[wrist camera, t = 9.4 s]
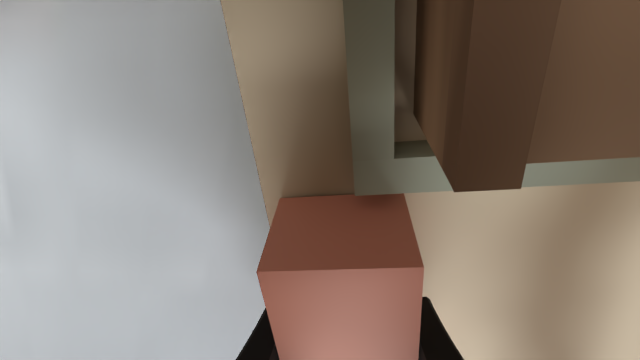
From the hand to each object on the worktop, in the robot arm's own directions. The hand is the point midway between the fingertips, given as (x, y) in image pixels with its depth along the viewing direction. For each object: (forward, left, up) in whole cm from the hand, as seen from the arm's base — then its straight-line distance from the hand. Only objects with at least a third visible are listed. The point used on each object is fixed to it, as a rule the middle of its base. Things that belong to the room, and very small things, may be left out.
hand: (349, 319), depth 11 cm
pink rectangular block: (0, 0, -1) cm, 1 cm away
